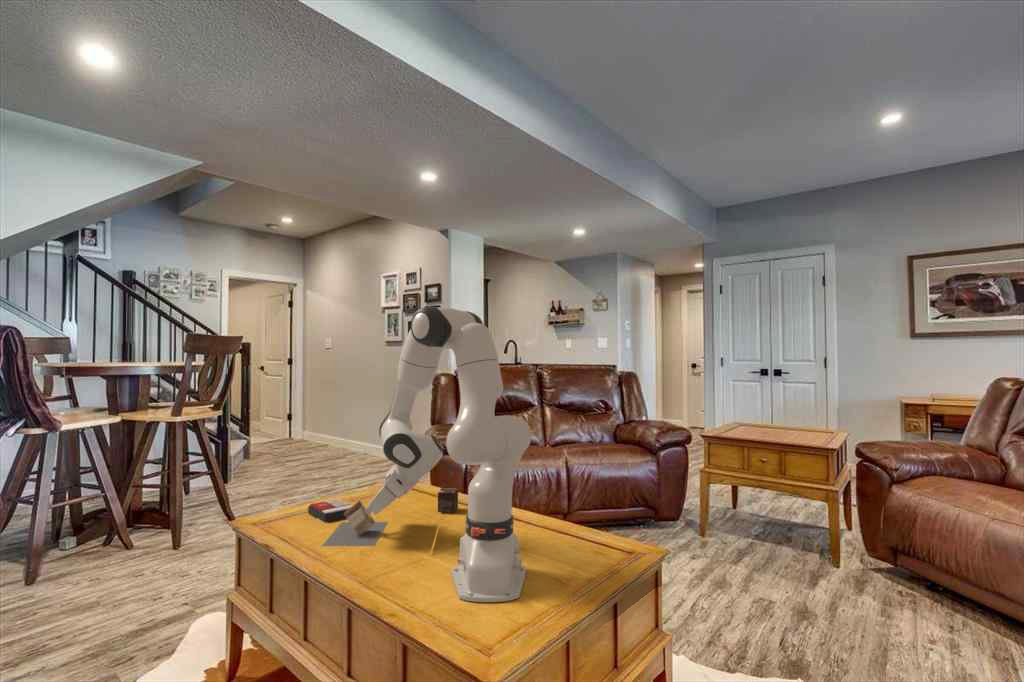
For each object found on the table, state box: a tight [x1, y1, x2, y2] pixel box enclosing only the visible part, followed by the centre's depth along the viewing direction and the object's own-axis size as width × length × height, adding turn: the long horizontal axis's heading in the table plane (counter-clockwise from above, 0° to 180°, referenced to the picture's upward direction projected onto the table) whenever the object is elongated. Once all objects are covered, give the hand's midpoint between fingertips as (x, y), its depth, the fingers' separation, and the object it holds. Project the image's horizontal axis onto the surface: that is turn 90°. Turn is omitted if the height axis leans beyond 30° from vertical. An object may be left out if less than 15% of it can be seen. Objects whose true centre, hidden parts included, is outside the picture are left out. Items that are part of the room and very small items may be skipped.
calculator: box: [307, 498, 354, 524], centre depth 171 cm, size 11×4×15 cm
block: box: [344, 500, 376, 536], centre depth 153 cm, size 4×4×8 cm
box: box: [437, 487, 459, 514], centre depth 177 cm, size 6×6×7 cm
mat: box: [321, 521, 389, 547], centre depth 153 cm, size 20×15×1 cm
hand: (366, 512), depth 153 cm, fingers closed
